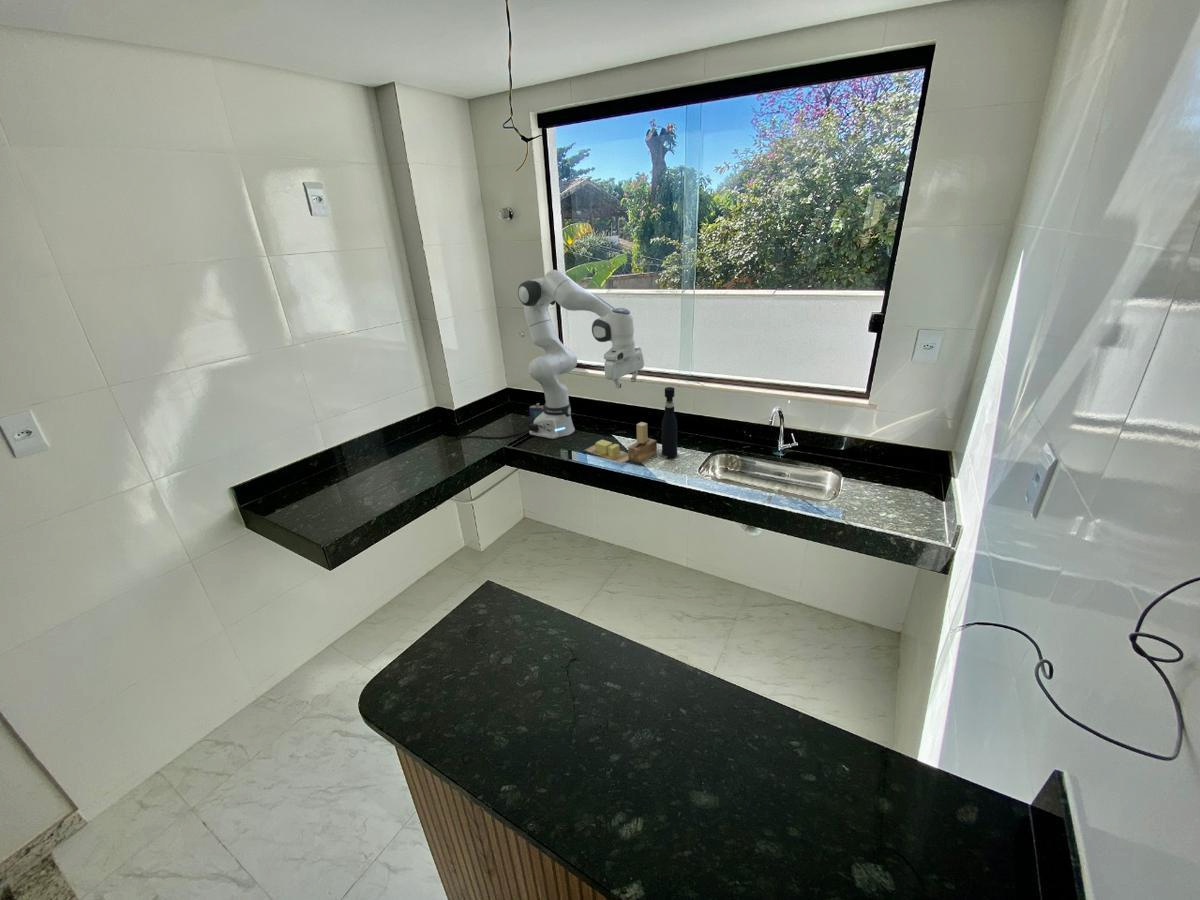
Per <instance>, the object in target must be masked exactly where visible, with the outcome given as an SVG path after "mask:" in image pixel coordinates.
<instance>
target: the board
mask: <svg viewBox="0 0 1200 900" xmlns="http://www.w3.org/2000/svg"><path fill="white" fill-rule="evenodd" d="M584 451H585V452H588V453H591V454H594V455H597V456H599V457H601V458H605V459H608V460H611V461H614V462H617V463H620V464H624V463H625V462H628V461H630V460H629V459H628V452H626V451H623V450H620V453H619V454H617V455H616V456H614V457H612V456H609V453H608V454H603V453H600V452H597V451H596V447H595V444H593V445H591V446H589V447H587V448H585V449H584Z"/></svg>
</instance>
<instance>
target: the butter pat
mask: <svg viewBox="0 0 1200 900" xmlns="http://www.w3.org/2000/svg"><path fill="white" fill-rule="evenodd" d="M608 451H609V456H612V457H614V456H616V455H617V454H619V453H620V451H621V449H620V444H618V443H614V444H613V443H612V445H611V446H610V447H608Z"/></svg>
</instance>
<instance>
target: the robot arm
mask: <svg viewBox="0 0 1200 900" xmlns="http://www.w3.org/2000/svg"><path fill="white" fill-rule="evenodd" d="M517 296H518V299H519V302H520V303H521V304H522V305H523V311H524V316H525V321H526V325H527V328H528V331H529V334H530V337H531V340H532V342H533V344H534V345H535V346H537V347H539V348H541V349H543V350H544V352H545V354H543V355H538V356H536V357H535V358H534V359H532V360H531V361H529V363H528V372H529V375H530V377H531V378H532V379H533V380H535V381H536V382H538V383H539V384H540V386H541V387H542V390H543V393H544V400H545V403H544V404H543V405H542V406H543V407H542V410H543V409H544V411H543V412H542V413H541V414H540V415H539V416H538V417H536V419H535V420H534V423H531V422H530V424H528V429H525V430H523V431H520V432H517V433H514V434H510V435H506V436H505V435H504V436H482V435H465V436H457V437H458V438H455V437H456V436H454V437H453V436H452V437H449V438H448V439H450V440H452V439H451V438H454V439H455V440H457V439H458V440H459V439H466V438H480V439H507V438H511V437H515V436H518V435H521V434H524V433H526V432H528V433H529V435H531V436H536V437H542V438H545V439H546V438H547V439H551V440H554V439H559V438H562V437H566V436H570V435H572V434H573V433H575V431H576V428H575V426H574V423H573V420H572V409H571V402H570V399H569V389H568V387H567V386H566V385H565V384H564V383H562V382H560V381H559V376H563V375H565V374H568V373H570V372H571V371H573V370H574V369H576V368H577V365H578V358H577V355H576V353H575V352H574V351H573V350H571V349H570V348H567V347H566V346H565V345H564V343H562V341H561V340H560V338H559V337H558V335H557V332H556V330H555V327H554V323H553V321H552V318H551V315H550V312H549V306H554V305H555V304H556V303H557V304H558V306H560V307H562V308H563V309H565V310H566V311H573V312H576V311H577V312H578V311H585V312H592V313H594V314H596V315H597V316H598V318H596V319H595V320H593V322H592V325H591V334H592V337H593V338H594V339H595V340H596V341H597V342H599V343H607V342H611V346H612V347H611V348H610V349H609V350H608V351H606V352H605V353H604V354H603V359H604V360H605V361H604V365H603V366H604V377H605V378H606V379H607V380H609V381H612V382H613V383H614V385H615V388H616V389H621V388H622V383H621V382H620V378H622V377H624V376H628V375H629V374H632V375H631V377H630V382H631V383H635V382H637V377H638V375H639V370H643V369H644V367H645V361H644V360H645V359H644V354H643V352H642V348H641V347H640V346H636V343H635V339H634V334H635V333H634V332H635V327H634V319H633V316H632V315H633V314H632V312H631V311H630V310H629V309H627V308H625V307H624V308H623V307H614V306H612V305H611V304H610V303H608V302H607V301H605V300H604V299H603V298H601V297H600V296H598V295H596V294H595V293H593V292H591V291H589V290H587V289H585V288H583V287H582V286H581V285H579V284H578V283H576V282H575V281H574V280H573V279H571V278H570V277H569V276H568V275H567V274H565V273H563V272H562V271H560V270H557V269H551V270H549V271H548V272H546V273H545V275H544V276H541V277H537V278H533V279H530V280H529V279H528V280H525V281H522V282H521V283H520V284H519V286H518V288H517ZM448 439H446V440H445V443H448V442H449V441H450V440H448ZM454 439H453V440H454Z"/></svg>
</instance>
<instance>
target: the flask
mask: <svg viewBox="0 0 1200 900" xmlns="http://www.w3.org/2000/svg"><path fill="white" fill-rule="evenodd" d="M542 407H543V405H540V402H538V403H536V404H535V405H530V406H529V407H528V409H529V417H530V424H531V423H534V420H535V419H536V417H538V416H539V415H540V414H541V413H542V412H543V411H544V409H543V410H542Z"/></svg>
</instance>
